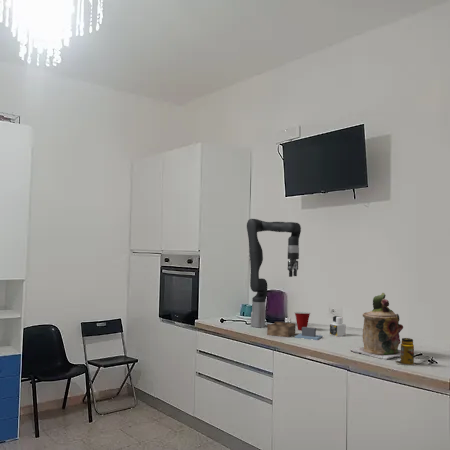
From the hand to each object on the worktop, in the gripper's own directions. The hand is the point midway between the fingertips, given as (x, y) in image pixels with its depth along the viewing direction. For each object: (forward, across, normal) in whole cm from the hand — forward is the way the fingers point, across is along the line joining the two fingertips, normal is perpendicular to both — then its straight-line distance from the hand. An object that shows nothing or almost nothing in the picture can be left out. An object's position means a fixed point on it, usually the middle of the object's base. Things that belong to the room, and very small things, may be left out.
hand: (292, 276), depth 332 cm
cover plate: (+37, +17, +17) cm, 44 cm away
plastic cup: (+36, -9, +4) cm, 38 cm away
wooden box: (+36, +17, -1) cm, 40 cm away
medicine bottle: (+36, -2, +30) cm, 47 cm away
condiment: (+36, +58, +79) cm, 105 cm away
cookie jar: (+36, +40, +64) cm, 84 cm away
